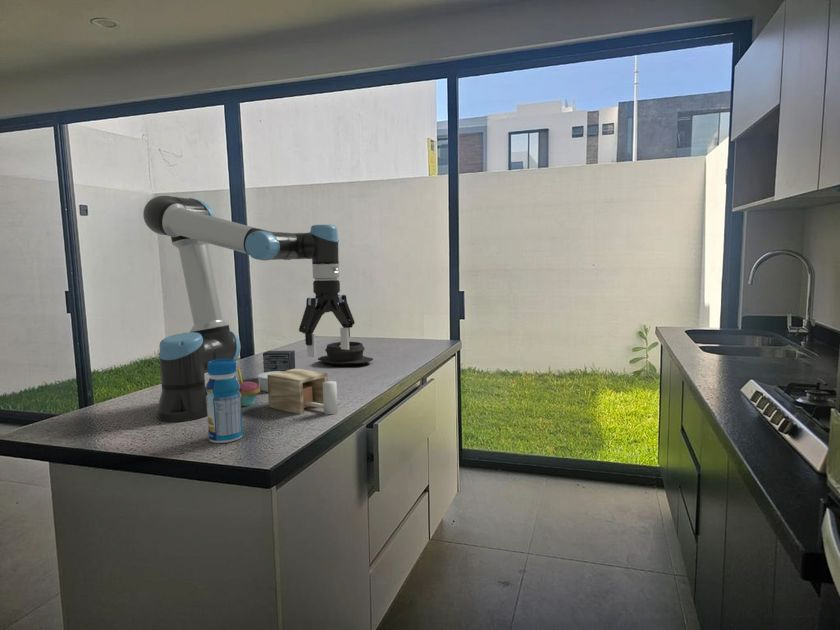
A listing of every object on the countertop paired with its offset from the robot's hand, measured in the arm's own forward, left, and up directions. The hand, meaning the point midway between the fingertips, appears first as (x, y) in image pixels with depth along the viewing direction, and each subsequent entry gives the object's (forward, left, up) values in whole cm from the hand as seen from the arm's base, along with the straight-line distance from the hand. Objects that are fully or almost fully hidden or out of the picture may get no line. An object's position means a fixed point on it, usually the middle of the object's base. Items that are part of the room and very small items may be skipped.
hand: (329, 353), depth 158 cm
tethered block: (0, +7, -18) cm, 19 cm away
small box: (+23, +49, -18) cm, 57 cm away
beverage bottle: (-31, +7, -18) cm, 37 cm away
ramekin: (+11, +38, -18) cm, 43 cm away
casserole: (+58, +48, -18) cm, 77 cm away
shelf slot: (0, +14, -18) cm, 22 cm away
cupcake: (-7, +30, -18) cm, 35 cm away
